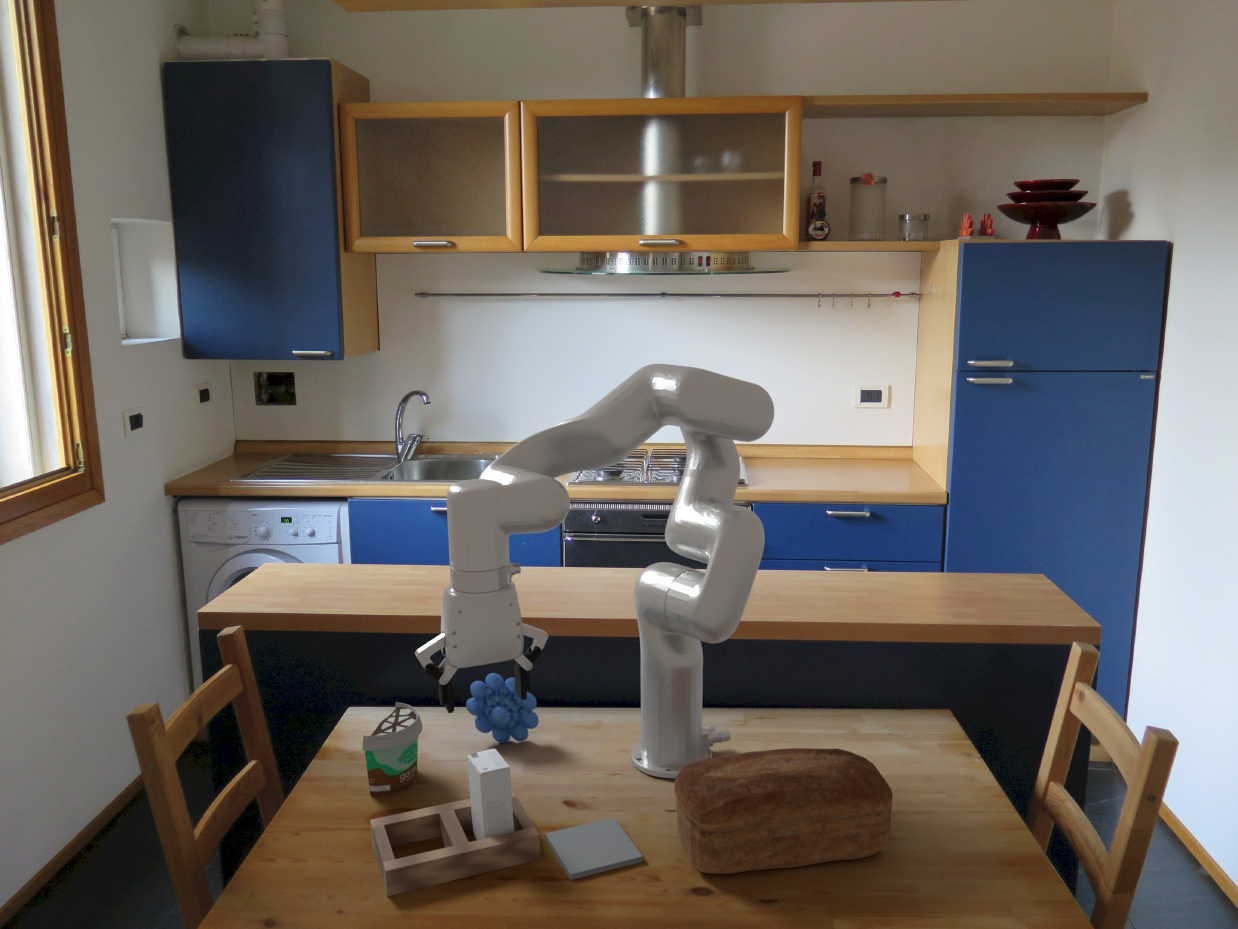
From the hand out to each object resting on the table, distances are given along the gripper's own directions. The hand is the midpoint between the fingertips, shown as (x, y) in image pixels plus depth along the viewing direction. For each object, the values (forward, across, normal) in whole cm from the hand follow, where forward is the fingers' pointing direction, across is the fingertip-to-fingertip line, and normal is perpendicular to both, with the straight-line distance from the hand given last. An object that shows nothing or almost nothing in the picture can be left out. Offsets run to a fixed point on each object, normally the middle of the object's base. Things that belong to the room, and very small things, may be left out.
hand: (485, 702), depth 131 cm
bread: (+21, -36, +16) cm, 44 cm away
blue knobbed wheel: (+20, -9, -26) cm, 34 cm away
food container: (+20, +8, -21) cm, 30 cm away
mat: (+20, -12, +7) cm, 25 cm away
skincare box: (+20, 0, 0) cm, 21 cm away
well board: (+20, +5, 0) cm, 21 cm away
